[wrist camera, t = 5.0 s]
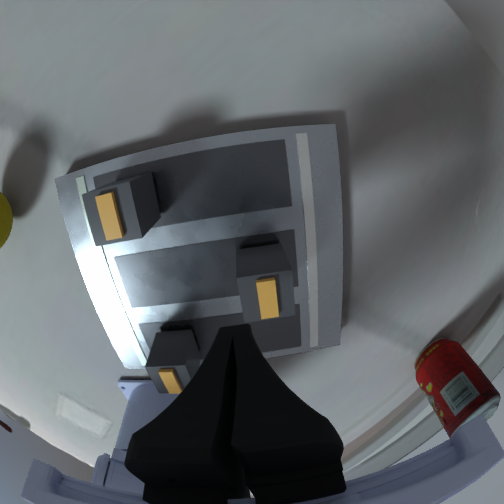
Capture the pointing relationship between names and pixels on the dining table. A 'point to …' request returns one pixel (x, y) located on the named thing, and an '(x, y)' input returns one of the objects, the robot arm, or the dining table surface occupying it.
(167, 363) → the block
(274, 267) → the breaker
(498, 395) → the soda can
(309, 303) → the panel
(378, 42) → the dining table surface
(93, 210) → the breaker
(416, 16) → the dining table surface
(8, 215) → the lemon
